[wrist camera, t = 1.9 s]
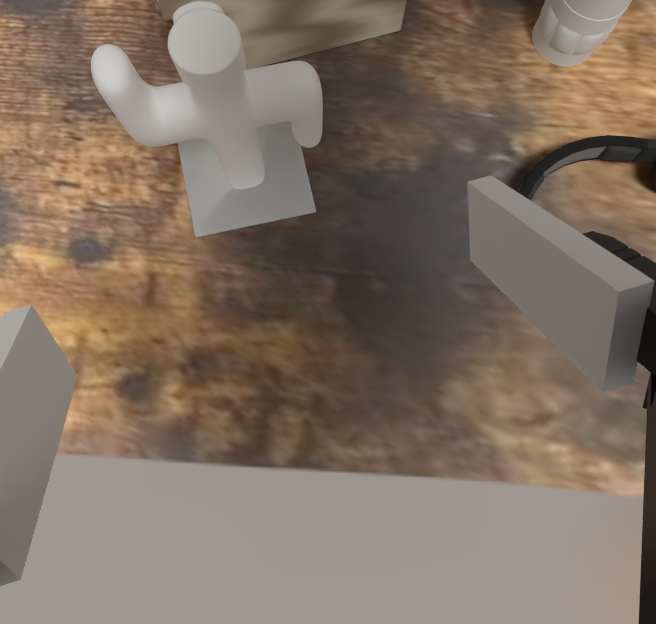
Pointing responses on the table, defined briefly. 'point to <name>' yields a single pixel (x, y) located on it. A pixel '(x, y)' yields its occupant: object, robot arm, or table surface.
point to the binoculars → (574, 28)
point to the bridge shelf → (301, 24)
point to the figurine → (222, 121)
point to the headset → (591, 157)
